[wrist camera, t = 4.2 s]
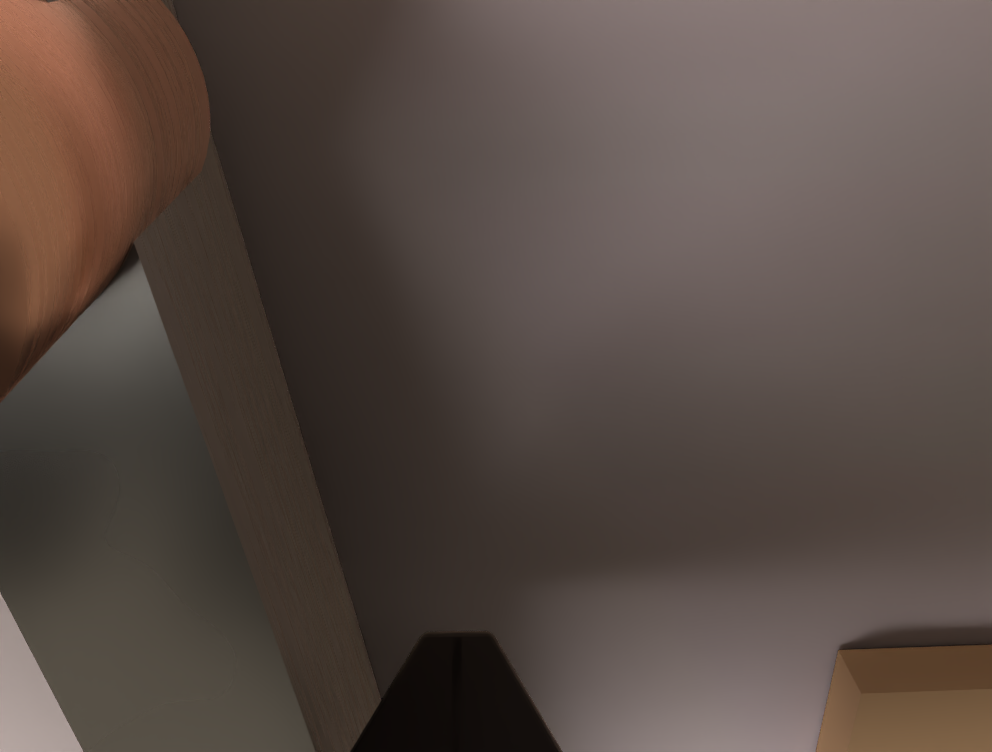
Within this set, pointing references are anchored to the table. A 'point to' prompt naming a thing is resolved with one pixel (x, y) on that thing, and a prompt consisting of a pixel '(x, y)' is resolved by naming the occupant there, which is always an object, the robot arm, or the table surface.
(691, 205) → the table surface
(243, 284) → the lever
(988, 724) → the plate
